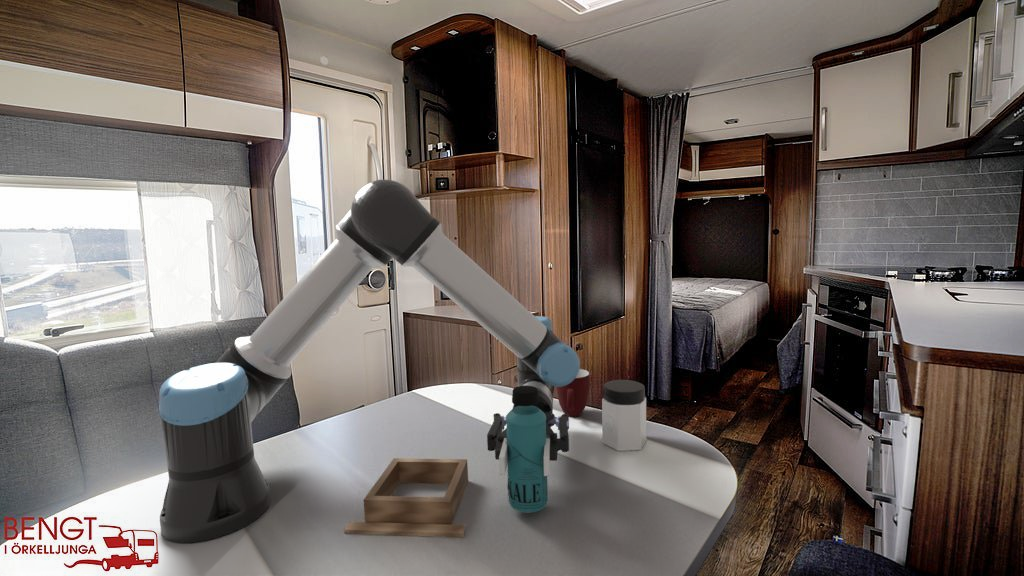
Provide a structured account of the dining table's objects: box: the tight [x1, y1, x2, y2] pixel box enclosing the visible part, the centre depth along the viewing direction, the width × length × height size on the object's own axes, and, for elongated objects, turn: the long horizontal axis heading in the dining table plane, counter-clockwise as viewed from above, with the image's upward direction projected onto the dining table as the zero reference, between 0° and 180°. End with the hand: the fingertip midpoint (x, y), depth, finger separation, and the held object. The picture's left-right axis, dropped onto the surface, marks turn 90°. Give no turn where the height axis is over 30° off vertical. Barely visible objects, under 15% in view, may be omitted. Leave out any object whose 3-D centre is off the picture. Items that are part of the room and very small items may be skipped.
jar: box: [601, 379, 647, 452], centre depth 98 cm, size 9×8×12 cm
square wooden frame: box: [343, 457, 469, 538], centre depth 78 cm, size 18×16×4 cm
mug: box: [555, 368, 591, 418], centre depth 113 cm, size 10×8×10 cm
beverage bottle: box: [505, 385, 549, 514], centre depth 74 cm, size 6×7×20 cm
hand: (524, 466), depth 69 cm, fingers closed on beverage bottle, 6 cm apart
